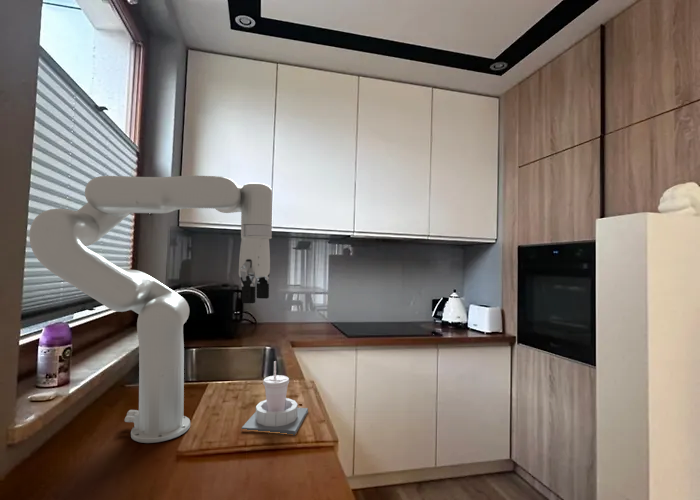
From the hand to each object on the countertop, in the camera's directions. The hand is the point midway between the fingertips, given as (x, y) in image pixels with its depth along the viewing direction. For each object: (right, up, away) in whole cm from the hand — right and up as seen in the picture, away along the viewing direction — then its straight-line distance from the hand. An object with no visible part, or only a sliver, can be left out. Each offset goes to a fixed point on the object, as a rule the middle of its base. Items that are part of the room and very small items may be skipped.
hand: (255, 300), depth 96 cm
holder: (+5, -30, 0) cm, 31 cm away
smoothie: (+5, -30, -1) cm, 30 cm away
